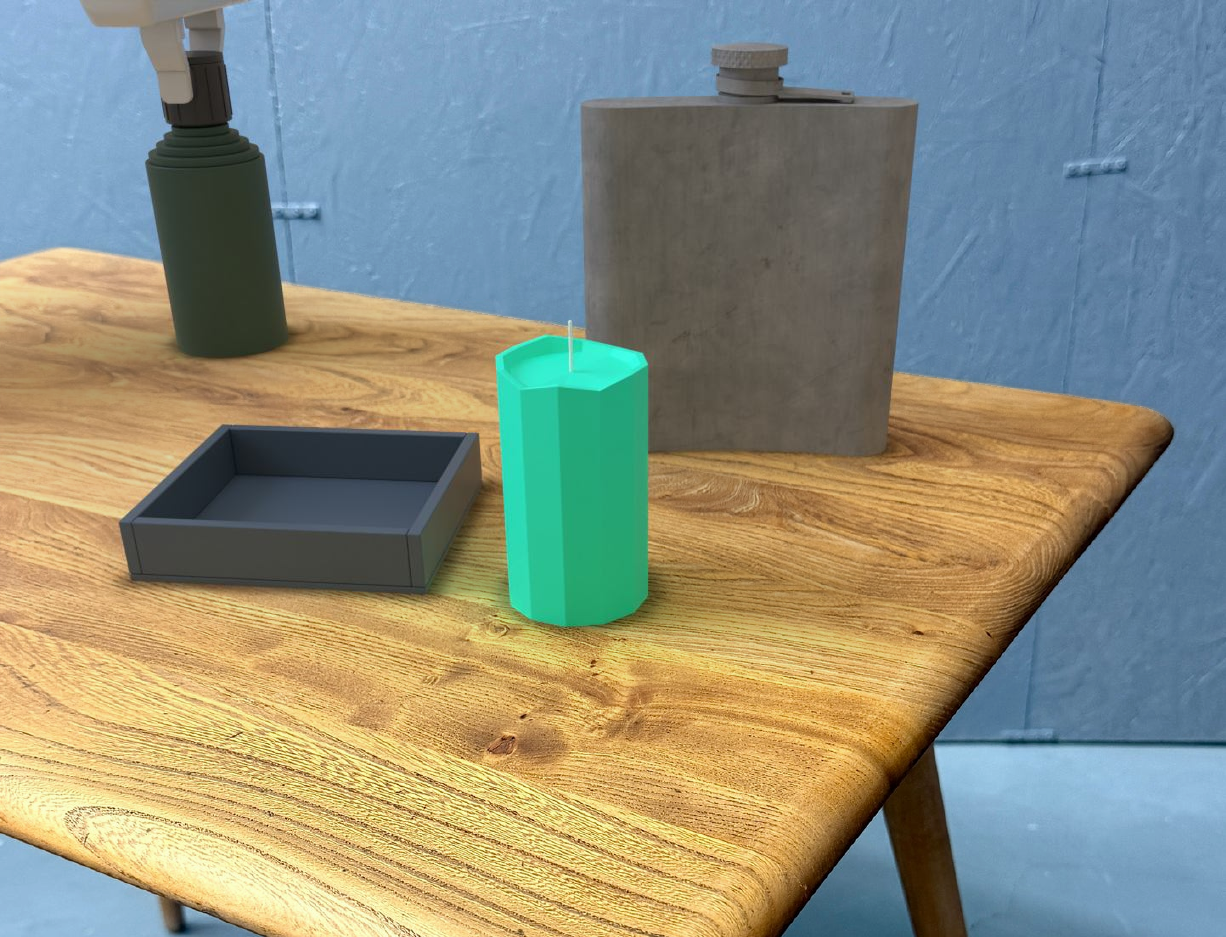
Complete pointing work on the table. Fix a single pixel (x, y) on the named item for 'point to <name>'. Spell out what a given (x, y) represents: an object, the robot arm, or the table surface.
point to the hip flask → (751, 255)
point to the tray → (307, 509)
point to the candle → (574, 478)
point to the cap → (204, 93)
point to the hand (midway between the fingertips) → (194, 96)
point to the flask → (217, 242)
